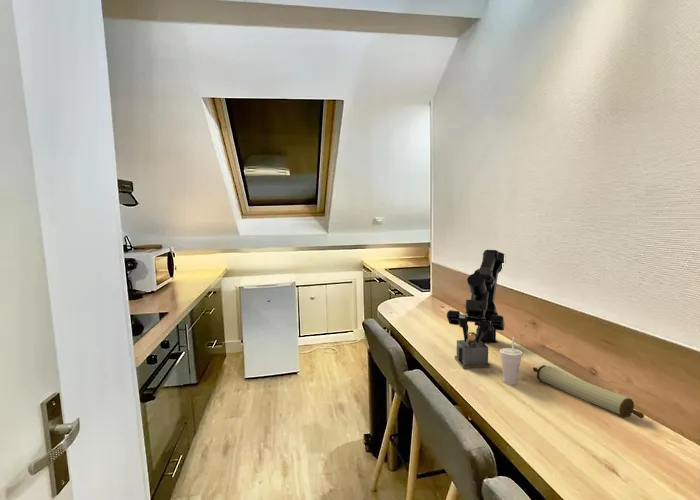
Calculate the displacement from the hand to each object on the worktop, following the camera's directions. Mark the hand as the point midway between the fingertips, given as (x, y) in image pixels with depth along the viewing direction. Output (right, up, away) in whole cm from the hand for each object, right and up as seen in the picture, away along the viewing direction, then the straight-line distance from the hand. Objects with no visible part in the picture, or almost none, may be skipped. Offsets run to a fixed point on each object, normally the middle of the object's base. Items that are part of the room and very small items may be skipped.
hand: (471, 341), depth 136 cm
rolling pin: (+24, -10, -23) cm, 35 cm away
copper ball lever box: (+1, -8, +2) cm, 8 cm away
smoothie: (+8, -9, -14) cm, 18 cm away
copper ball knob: (+1, -6, +2) cm, 7 cm away
